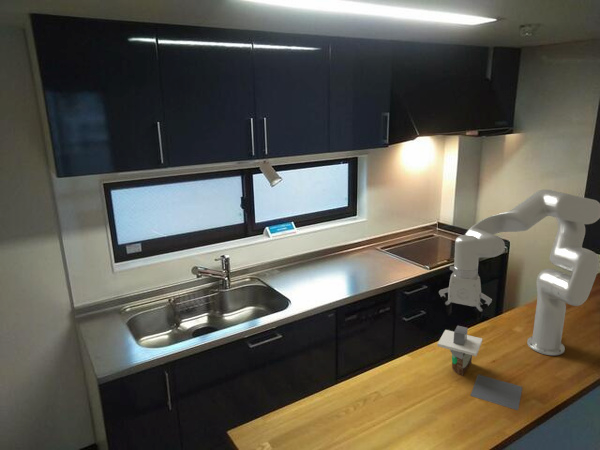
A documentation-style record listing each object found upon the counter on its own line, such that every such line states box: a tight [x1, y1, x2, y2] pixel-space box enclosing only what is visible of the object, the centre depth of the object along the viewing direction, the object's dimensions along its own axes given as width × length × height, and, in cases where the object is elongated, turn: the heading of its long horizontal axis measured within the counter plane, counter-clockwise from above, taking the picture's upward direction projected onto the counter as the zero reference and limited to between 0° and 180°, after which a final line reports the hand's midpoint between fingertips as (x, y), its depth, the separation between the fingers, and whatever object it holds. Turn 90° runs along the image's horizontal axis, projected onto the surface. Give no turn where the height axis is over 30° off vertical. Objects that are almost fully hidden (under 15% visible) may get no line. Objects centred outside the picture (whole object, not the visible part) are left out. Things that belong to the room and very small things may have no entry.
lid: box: [436, 325, 483, 357], centre depth 150 cm, size 11×13×6 cm
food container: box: [449, 349, 473, 377], centre depth 152 cm, size 12×6×10 cm, turn 141°
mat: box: [470, 374, 523, 411], centre depth 140 cm, size 13×14×1 cm
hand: (463, 316), depth 148 cm, fingers open, 9 cm apart
